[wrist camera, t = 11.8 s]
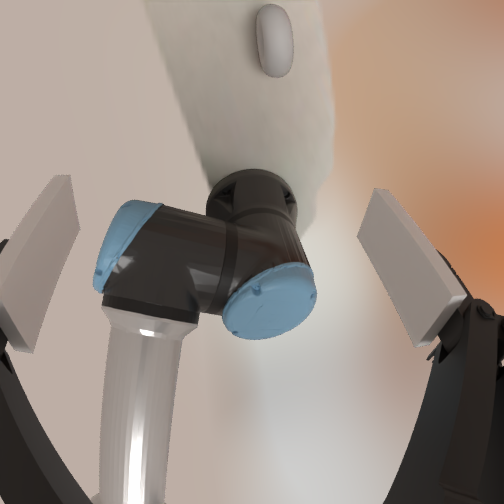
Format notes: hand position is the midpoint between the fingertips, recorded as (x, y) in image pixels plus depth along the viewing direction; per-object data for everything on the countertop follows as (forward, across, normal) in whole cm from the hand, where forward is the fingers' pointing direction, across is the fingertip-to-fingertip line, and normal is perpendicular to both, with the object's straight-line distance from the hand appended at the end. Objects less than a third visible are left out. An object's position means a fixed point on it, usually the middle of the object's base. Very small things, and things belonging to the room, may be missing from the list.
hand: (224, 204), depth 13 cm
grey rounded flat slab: (+35, -7, -6) cm, 36 cm away
